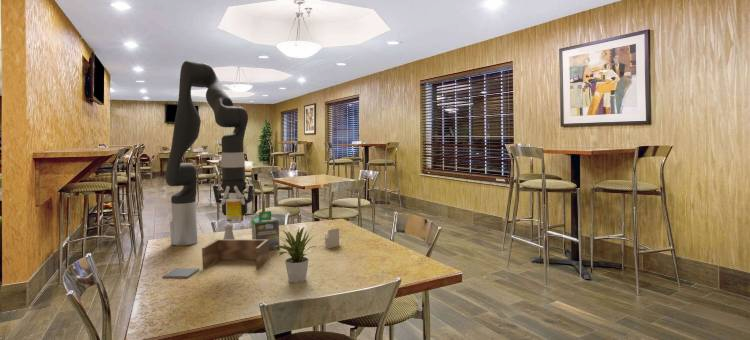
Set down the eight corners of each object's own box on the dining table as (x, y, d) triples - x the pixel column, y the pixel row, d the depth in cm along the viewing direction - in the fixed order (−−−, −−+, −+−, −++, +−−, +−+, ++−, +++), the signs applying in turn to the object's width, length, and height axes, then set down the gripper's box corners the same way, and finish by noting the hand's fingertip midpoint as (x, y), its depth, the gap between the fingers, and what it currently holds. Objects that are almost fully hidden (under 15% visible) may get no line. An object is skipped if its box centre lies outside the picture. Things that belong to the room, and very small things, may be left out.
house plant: (279, 271, 141) (278, 221, 140) (322, 271, 140) (321, 221, 139) (267, 286, 127) (266, 231, 125) (314, 286, 126) (313, 231, 125)
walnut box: (202, 268, 144) (201, 248, 144) (217, 258, 156) (216, 239, 156) (259, 268, 143) (258, 248, 143) (269, 258, 155) (268, 239, 155)
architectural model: (322, 247, 172) (322, 228, 171) (335, 244, 177) (335, 226, 176) (328, 248, 169) (328, 230, 169) (341, 245, 174) (341, 227, 174)
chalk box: (275, 244, 176) (273, 208, 175) (280, 249, 168) (279, 211, 167) (251, 247, 172) (250, 210, 171) (256, 252, 164) (254, 213, 163)
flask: (233, 254, 162) (232, 227, 162) (215, 253, 164) (214, 227, 163) (242, 249, 169) (241, 223, 169) (225, 248, 171) (224, 223, 170)
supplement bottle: (244, 222, 147) (243, 192, 146) (227, 224, 145) (226, 194, 144) (242, 219, 152) (241, 191, 151) (225, 221, 150) (224, 192, 149)
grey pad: (162, 278, 135) (162, 276, 135) (175, 270, 143) (175, 268, 143) (188, 278, 135) (187, 276, 135) (199, 270, 143) (199, 268, 143)
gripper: (257, 164, 150) (258, 213, 152) (216, 165, 151) (218, 212, 152) (250, 166, 143) (252, 217, 144) (207, 166, 143) (209, 217, 145)
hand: (234, 214), depth 148 cm, fingers closed on supplement bottle, 5 cm apart
